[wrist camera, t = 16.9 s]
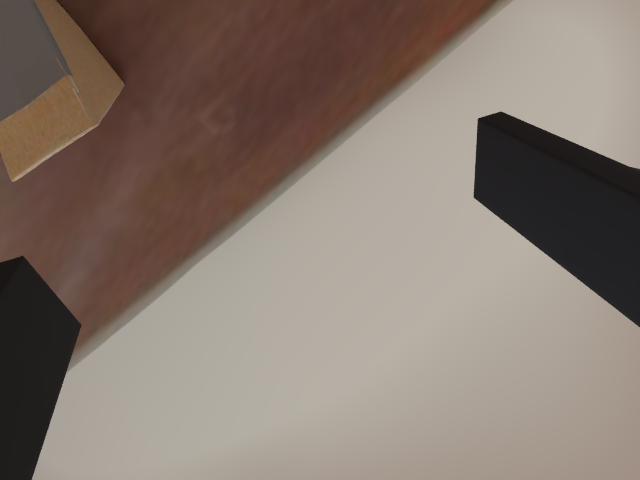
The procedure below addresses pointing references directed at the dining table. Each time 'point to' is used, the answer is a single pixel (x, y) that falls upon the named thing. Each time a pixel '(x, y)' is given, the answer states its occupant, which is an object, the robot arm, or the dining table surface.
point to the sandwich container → (47, 83)
